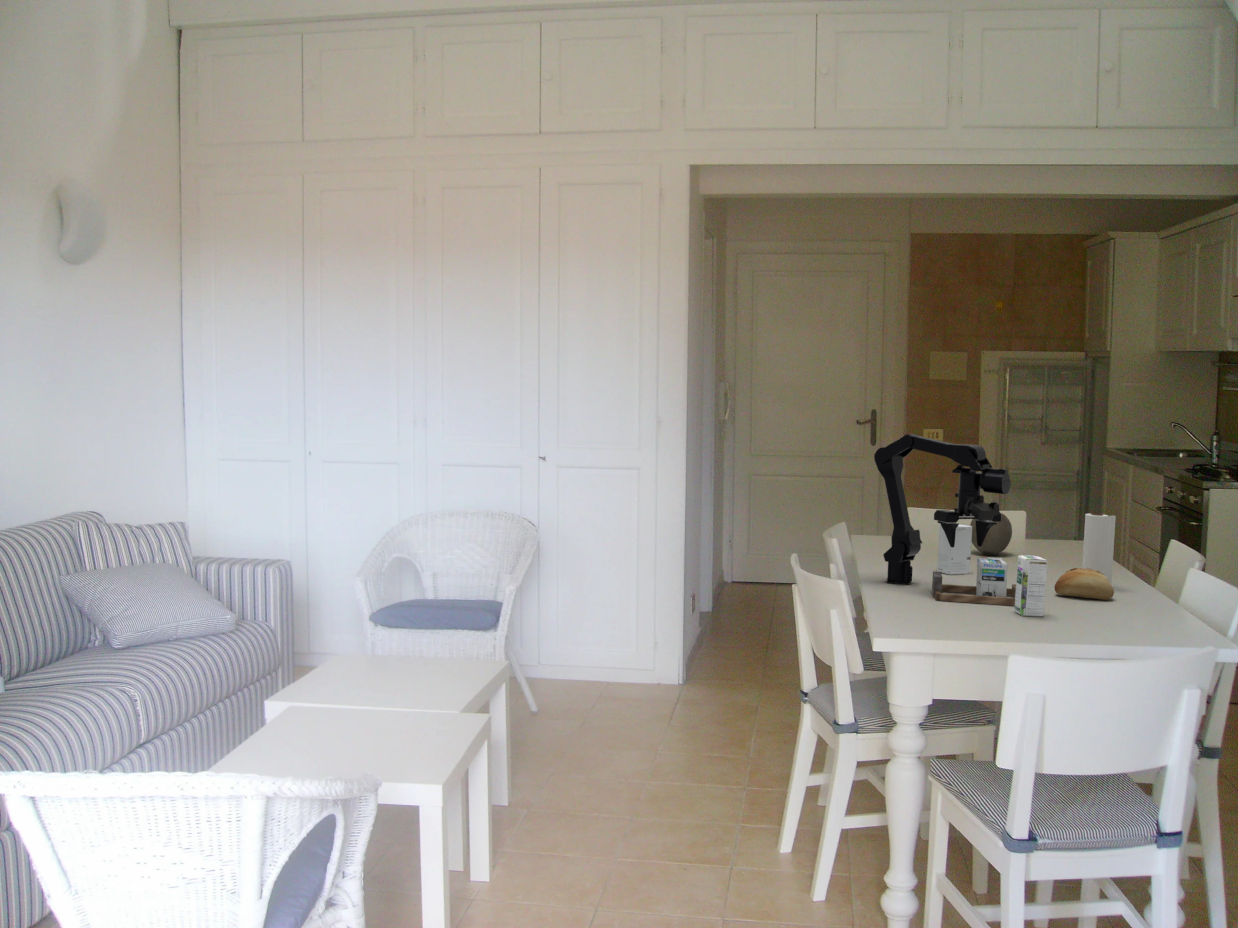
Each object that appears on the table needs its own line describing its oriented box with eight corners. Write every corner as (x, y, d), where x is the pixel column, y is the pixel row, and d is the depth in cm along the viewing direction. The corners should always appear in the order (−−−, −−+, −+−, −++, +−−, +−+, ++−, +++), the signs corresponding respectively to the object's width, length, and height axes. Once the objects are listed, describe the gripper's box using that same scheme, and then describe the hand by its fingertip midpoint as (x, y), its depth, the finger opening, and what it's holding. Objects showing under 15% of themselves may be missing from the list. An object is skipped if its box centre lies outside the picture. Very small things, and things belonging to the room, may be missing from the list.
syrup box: (1013, 611, 271) (1016, 554, 270) (1037, 612, 271) (1040, 555, 270) (1021, 616, 266) (1024, 558, 265) (1045, 616, 266) (1048, 559, 264)
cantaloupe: (1017, 558, 358) (1019, 514, 357) (975, 557, 358) (977, 513, 357) (1003, 551, 372) (1005, 509, 371) (962, 550, 372) (964, 508, 371)
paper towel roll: (1078, 587, 307) (1082, 513, 305) (1085, 584, 311) (1089, 512, 310) (1104, 591, 302) (1108, 516, 301) (1111, 588, 307) (1115, 514, 305)
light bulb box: (1006, 604, 281) (1008, 563, 280) (979, 602, 282) (981, 562, 281) (1000, 596, 291) (1002, 557, 290) (974, 594, 293) (976, 555, 292)
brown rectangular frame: (934, 600, 283) (935, 578, 282) (931, 589, 297) (932, 569, 297) (1023, 606, 278) (1025, 584, 277) (1016, 595, 292) (1017, 574, 292)
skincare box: (949, 575, 323) (951, 526, 321) (935, 571, 328) (938, 523, 327) (971, 573, 326) (973, 525, 325) (957, 570, 331) (960, 522, 330)
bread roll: (1052, 592, 299) (1053, 564, 299) (1110, 596, 295) (1112, 568, 294) (1055, 598, 290) (1057, 569, 290) (1115, 603, 286) (1117, 573, 285)
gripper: (960, 494, 282) (957, 552, 283) (1017, 493, 289) (1013, 550, 290) (934, 489, 292) (930, 545, 294) (989, 489, 299) (985, 544, 300)
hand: (965, 546), depth 294 cm, fingers open, 9 cm apart
